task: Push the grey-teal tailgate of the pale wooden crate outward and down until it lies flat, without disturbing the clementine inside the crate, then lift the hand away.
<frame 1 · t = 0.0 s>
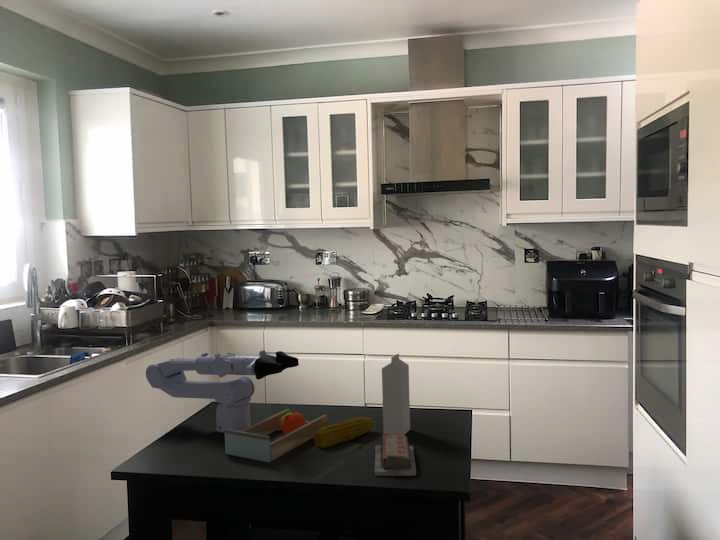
hand: (289, 365, 174), 22 cm above the table, tool horizontal, fingers open, 7 cm apart
clementine: (292, 437, 181), resting in crate
tailgate: (247, 445, 164), point 4 cm above the table, hinge at 0.0°
milk: (397, 432, 183), on the table
crate: (280, 443, 176), on the table
packaged product: (394, 464, 161), on the table
food: (345, 441, 177), on the table
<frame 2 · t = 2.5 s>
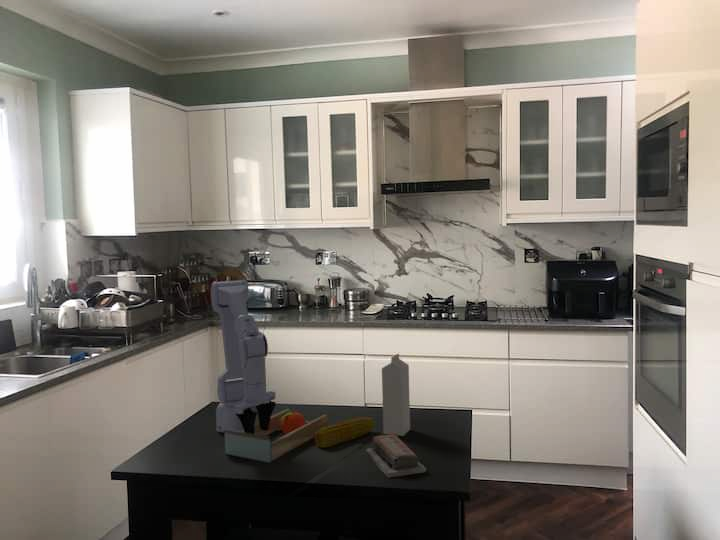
hand: (257, 433, 167), 6 cm above the table, tool pointing down, fingers open, 5 cm apart
tailgate: (247, 445, 164), point 4 cm above the table, hinge at 0.3°, touching gripper
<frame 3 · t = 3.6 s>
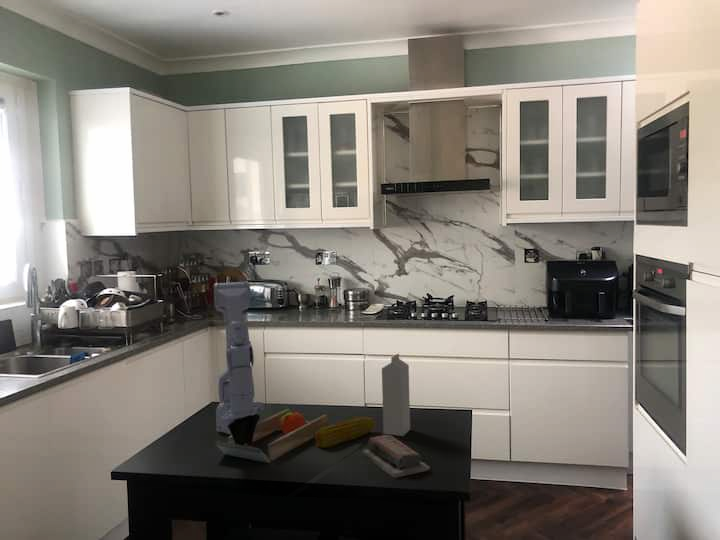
hand: (244, 445, 162), 4 cm above the table, tool pointing down, fingers closed
tailgate: (242, 452, 162), point 3 cm above the table, hinge at 41.8°, touching gripper
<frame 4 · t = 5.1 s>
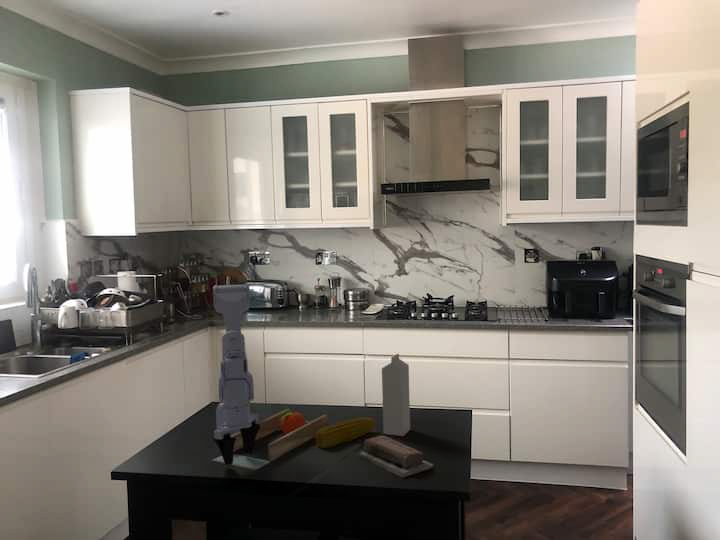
hand: (238, 458, 161), 2 cm above the table, tool pointing down, fingers open, 7 cm apart
tailgate: (240, 462, 162), point 1 cm above the table, hinge at 88.0°
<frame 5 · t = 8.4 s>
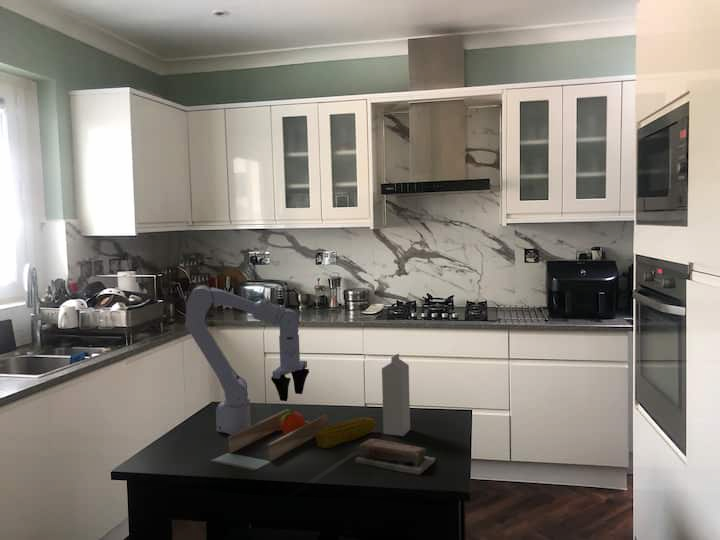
hand: (291, 397, 187), 9 cm above the table, tool pointing down, fingers open, 7 cm apart
at the end: tailgate at +88° (first picture: +0°); clementine moved 0.2 cm from its start; the gripper is holding nothing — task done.
